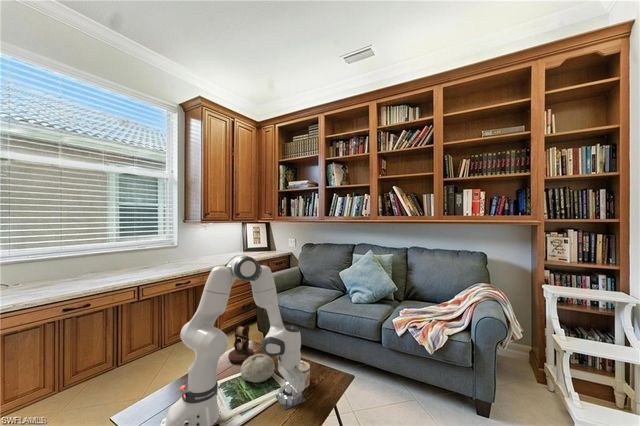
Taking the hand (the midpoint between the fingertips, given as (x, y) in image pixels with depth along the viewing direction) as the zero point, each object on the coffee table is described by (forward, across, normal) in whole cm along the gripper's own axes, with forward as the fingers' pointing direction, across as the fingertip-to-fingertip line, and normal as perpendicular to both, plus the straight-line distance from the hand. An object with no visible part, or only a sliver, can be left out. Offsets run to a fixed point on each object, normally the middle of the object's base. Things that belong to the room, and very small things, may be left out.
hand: (290, 390), depth 125 cm
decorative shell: (+4, +24, +7) cm, 25 cm away
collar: (+4, 0, 0) cm, 4 cm away
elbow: (+3, 0, 0) cm, 3 cm away
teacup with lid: (+4, +8, -11) cm, 14 cm away
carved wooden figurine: (+4, +47, +8) cm, 48 cm away
